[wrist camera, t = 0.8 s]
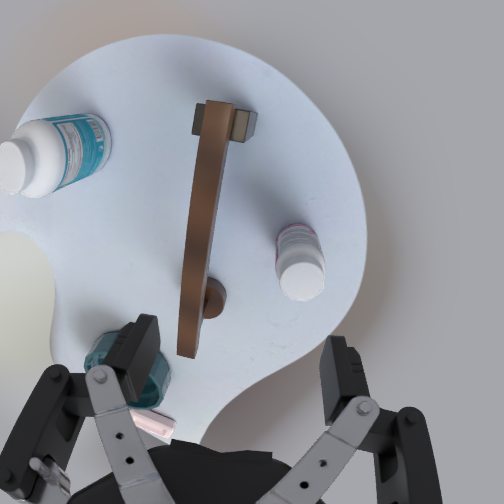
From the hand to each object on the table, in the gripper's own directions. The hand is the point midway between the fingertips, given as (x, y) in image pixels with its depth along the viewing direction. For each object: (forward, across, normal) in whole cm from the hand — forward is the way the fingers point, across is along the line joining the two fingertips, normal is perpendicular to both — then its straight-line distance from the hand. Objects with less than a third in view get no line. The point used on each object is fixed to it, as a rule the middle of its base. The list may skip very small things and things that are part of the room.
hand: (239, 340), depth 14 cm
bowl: (+20, +18, +27) cm, 38 cm away
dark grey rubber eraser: (+21, +3, -8) cm, 23 cm away
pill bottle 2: (+21, -4, +4) cm, 21 cm away
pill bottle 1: (+21, +21, -6) cm, 30 cm away
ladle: (+21, +4, +2) cm, 21 cm away
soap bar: (+20, +17, +43) cm, 51 cm away
